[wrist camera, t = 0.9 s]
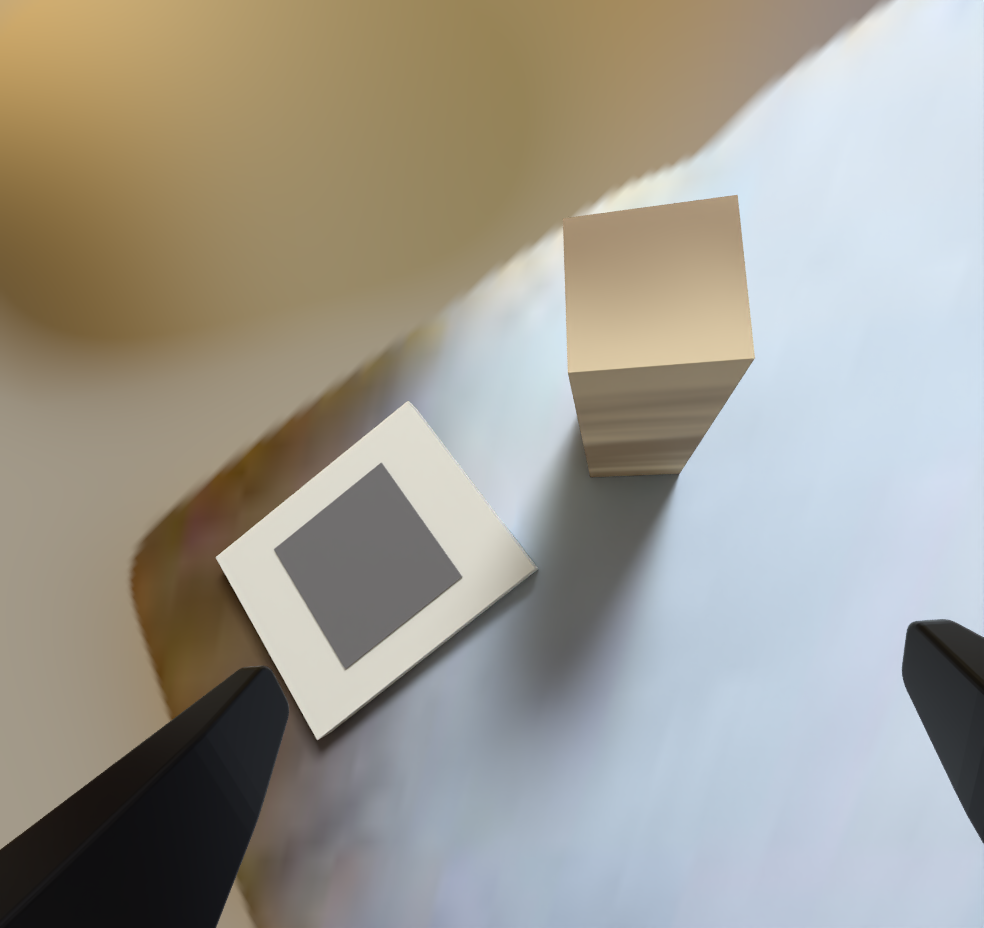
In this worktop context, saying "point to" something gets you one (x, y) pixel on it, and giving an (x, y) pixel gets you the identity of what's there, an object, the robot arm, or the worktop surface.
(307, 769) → the worktop surface
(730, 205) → the wooden block
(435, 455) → the mat
